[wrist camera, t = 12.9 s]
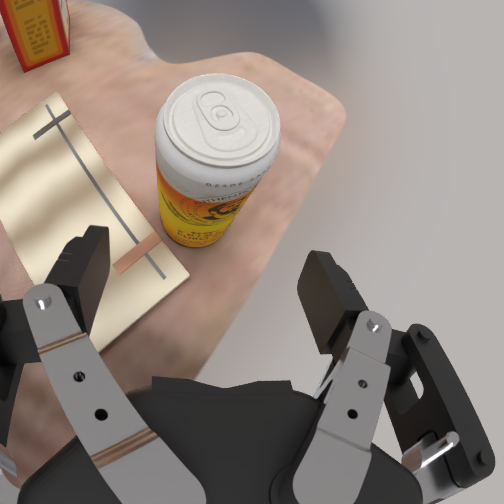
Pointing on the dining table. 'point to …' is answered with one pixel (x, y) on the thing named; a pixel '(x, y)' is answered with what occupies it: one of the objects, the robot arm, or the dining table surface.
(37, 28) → the baking soda box
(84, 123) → the dining table surface
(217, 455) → the robot arm
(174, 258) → the cream flat rectangular panel
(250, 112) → the beer can
